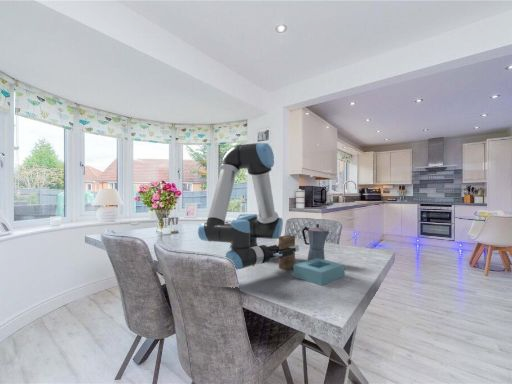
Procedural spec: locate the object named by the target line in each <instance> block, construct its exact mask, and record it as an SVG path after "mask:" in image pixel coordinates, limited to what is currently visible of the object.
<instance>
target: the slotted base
mask: <svg viewBox="0 0 512 384" xmlns="http://www.w3.org/2000/svg"><path fill="white" fill-rule="evenodd" d="M292 269H293V270H292V271H293V277H294V278H297V279H300V280H303V281H307V282H310V283H312V284H316V285H317V286H318V285H319V286H324V285H326V284H328V283H332V282H333V281H336V280H339V279H341V278H342V277H345V264H344V263H340V262H335V261H330V260H327V259H325V260H324V259H319V258H315V259H311V260H308V261H307V260H305V261H301V262H298V263H295V264H294V265H293V268H292Z"/></svg>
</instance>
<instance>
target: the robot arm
mask: <svg viewBox="0 0 512 384" xmlns="http://www.w3.org/2000/svg"><path fill="white" fill-rule="evenodd" d="M274 159H275V154H274V152H273V148H272V146H271V145H270V144H269V143H266V142H265V143H264V142H256V143H245V144H236V145H233V147H230V149H228V151H227V152H225V154H224V156H223V157H222V159H221V160H220V163H219V168H218V169H219V175H218V180H217V183H216V187H215V190H214V193H213V198H212V201H211V205H210V209H209V213H208V216H207V220H206V222H202V223H201V224H199V226H198V231H197V235H198V238H199V239H200V240H201V241H206V242H213V243H216V242H218V243H229V244H231V245H230V248H231V249H230V250H229V251H227V252H226V253H225V257H227V258H229V259H231V260H232V261H233V263H234V265H235V268H236V270H235V271H237V270H242V269H245V268H248V267H255V266H256V265H257V266H258V265H261V264H264V263H265V264H266V263H268V262H269V261H270V260H271V259H272V258H276V257H278V259H279V258H282V257H285V256H289V255H292V254H293V252H295V253H297V252H299V250H300V247H299V246H300V245H298V244H297V245H296V244H295V246H291V247H289V248H284V249H279V243H278V244H274V245H269V246H267V245H266V244H262V245H258V242H257V239H269V240H277V239H278V240H279V237H280V236H282V231H283V223H284V222H283V221H284V219H283V218H282V217H279V214H278V212H277V211H275V204H274V197H273V191H272V185H271V178H270V172H271V171H272V168H273V167H274V165H275V160H274ZM243 169H244V170H245V169H247V173H248V175H250V176H251V179H252V183H253V189H254V193H255V198H256V205H257V210H258V215H257V214H248V215H247V214H246V215H241V216H240V215H239V216H237V218H236V219H232V221H231V222H230V223H225V222H226V218H227V213H228V209H229V205H230V201H231V196H232V193H233V188H234V184H235V179H236V176H237V175H239V172H240V170H243ZM225 257H224V258H225Z"/></svg>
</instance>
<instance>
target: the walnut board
mask: <svg viewBox="0 0 512 384" xmlns="http://www.w3.org/2000/svg"><path fill="white" fill-rule="evenodd" d="M278 244H279V249H284V248H289V247H291V246H296V236H295V235H290V234H288V235H281V236H280V237H279V238H278ZM294 264H296V252H293V254H292V255H289V256H285V257H282V258H279V257H278V269H280V270H283V271H287V270H291V269H293V265H294Z"/></svg>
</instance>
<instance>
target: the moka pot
mask: <svg viewBox="0 0 512 384" xmlns="http://www.w3.org/2000/svg"><path fill="white" fill-rule="evenodd" d="M305 231H306V232H308V242H307V237H306V233H305ZM301 233H302V236H303V241H304V244H305V245H307V246H309V249H308V254H307V255H308V256H307V260H306V261H308V260H311V259H315V258H319V259H324V260H326V259H325V258H326V257H325V249H324V248H325V244H326V239H327V238H328V236H329V234H330V231H329V230H327V229H325V228H323V227H320V224H319V223H317V224H315V227H308V226H304V227H303V228H302V230H301Z"/></svg>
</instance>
